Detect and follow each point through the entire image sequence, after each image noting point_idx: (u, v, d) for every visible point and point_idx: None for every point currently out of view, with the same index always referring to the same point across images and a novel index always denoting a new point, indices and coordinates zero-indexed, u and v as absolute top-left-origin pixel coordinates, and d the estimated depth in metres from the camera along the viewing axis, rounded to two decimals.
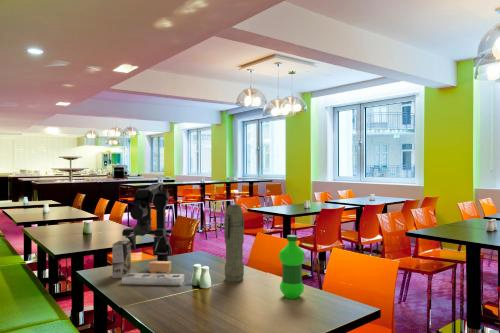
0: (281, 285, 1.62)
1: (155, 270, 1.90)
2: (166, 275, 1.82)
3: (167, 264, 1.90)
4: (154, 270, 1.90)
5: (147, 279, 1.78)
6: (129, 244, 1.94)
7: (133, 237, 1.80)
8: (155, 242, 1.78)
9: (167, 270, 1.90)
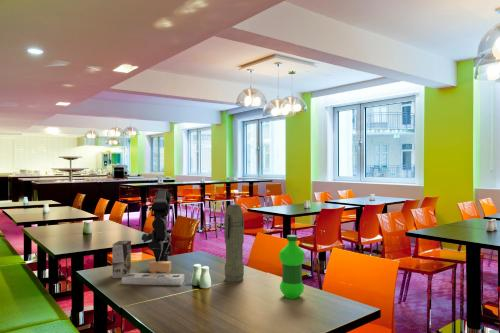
0: (281, 285, 1.62)
1: (155, 270, 1.90)
2: (166, 275, 1.82)
3: (167, 264, 1.90)
4: (154, 270, 1.90)
5: (147, 279, 1.78)
6: (129, 244, 1.94)
7: (162, 244, 1.97)
8: None
9: (167, 270, 1.90)
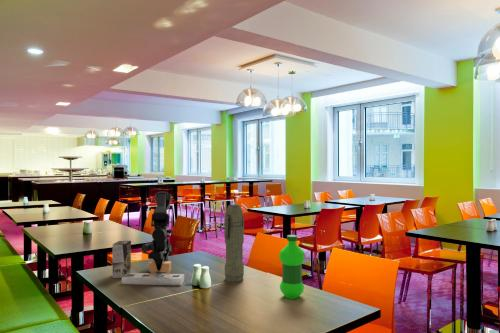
0: (281, 285, 1.62)
1: (155, 270, 1.90)
2: (166, 275, 1.82)
3: (167, 264, 1.90)
4: (154, 270, 1.90)
5: (147, 279, 1.78)
6: (129, 244, 1.94)
7: None
8: None
9: (167, 270, 1.90)
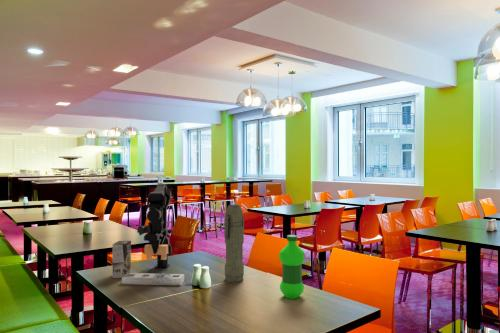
0: (281, 285, 1.62)
1: (151, 253, 1.84)
2: (166, 275, 1.82)
3: (164, 247, 1.83)
4: (150, 253, 1.84)
5: (147, 279, 1.78)
6: (129, 244, 1.94)
7: None
8: None
9: (164, 253, 1.83)
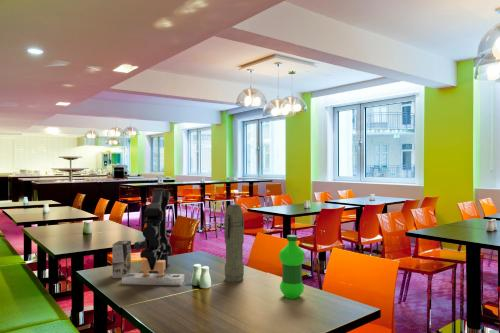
0: (281, 285, 1.62)
1: (148, 269, 1.80)
2: (166, 275, 1.82)
3: (161, 263, 1.79)
4: (147, 269, 1.80)
5: (147, 279, 1.78)
6: (129, 244, 1.94)
7: None
8: None
9: (161, 269, 1.79)
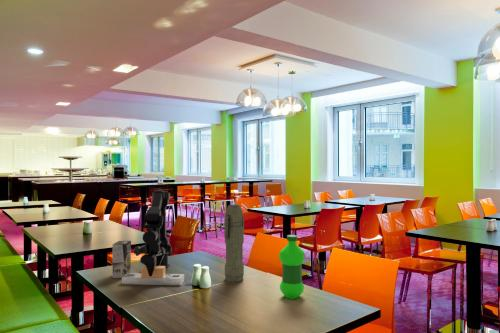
0: (281, 285, 1.62)
1: (148, 275, 1.80)
2: (166, 275, 1.82)
3: (161, 269, 1.79)
4: (147, 275, 1.80)
5: (147, 279, 1.78)
6: (129, 244, 1.94)
7: (156, 257, 1.86)
8: None
9: (161, 275, 1.79)
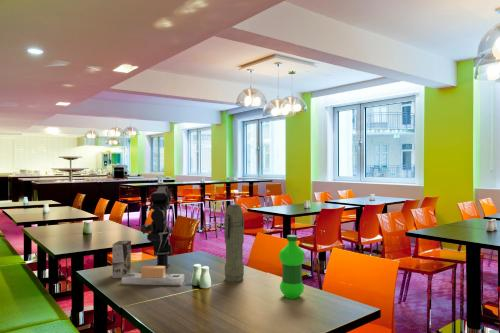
0: (281, 285, 1.62)
1: (148, 275, 1.80)
2: (166, 275, 1.82)
3: (161, 269, 1.79)
4: (147, 275, 1.80)
5: (147, 279, 1.78)
6: (129, 244, 1.94)
7: (161, 235, 1.96)
8: None
9: (161, 275, 1.79)
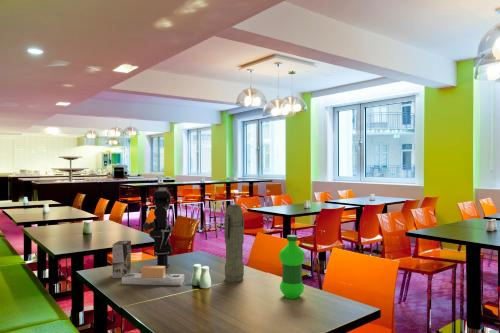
0: (281, 285, 1.62)
1: (148, 275, 1.80)
2: (166, 275, 1.82)
3: (161, 269, 1.79)
4: (147, 275, 1.80)
5: (147, 279, 1.78)
6: (129, 244, 1.94)
7: (163, 233, 1.99)
8: None
9: (161, 275, 1.79)
